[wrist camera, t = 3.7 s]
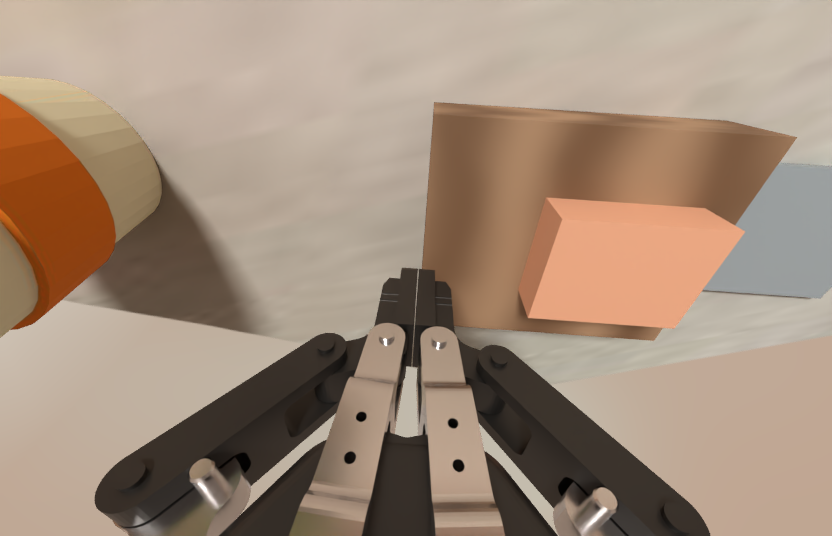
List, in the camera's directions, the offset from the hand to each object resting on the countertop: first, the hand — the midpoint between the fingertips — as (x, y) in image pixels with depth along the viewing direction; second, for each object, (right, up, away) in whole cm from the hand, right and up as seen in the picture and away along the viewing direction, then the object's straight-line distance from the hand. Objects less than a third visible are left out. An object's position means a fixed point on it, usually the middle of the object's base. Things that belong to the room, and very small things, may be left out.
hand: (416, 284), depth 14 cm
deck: (+9, +4, +7) cm, 12 cm away
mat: (+23, +3, +6) cm, 24 cm away
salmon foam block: (+10, +2, +3) cm, 11 cm away
